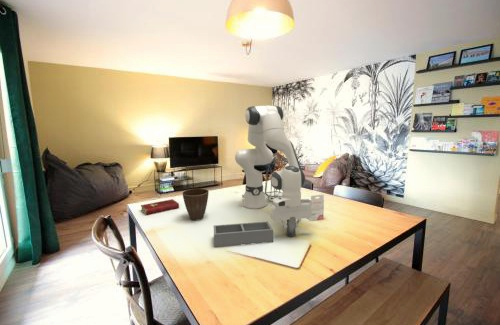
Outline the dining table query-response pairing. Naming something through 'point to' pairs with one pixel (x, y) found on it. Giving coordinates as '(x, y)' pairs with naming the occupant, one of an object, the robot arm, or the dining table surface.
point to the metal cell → (291, 227)
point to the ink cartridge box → (317, 207)
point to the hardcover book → (160, 207)
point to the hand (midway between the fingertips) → (291, 227)
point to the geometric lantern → (273, 172)
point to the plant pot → (196, 202)
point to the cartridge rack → (242, 234)
